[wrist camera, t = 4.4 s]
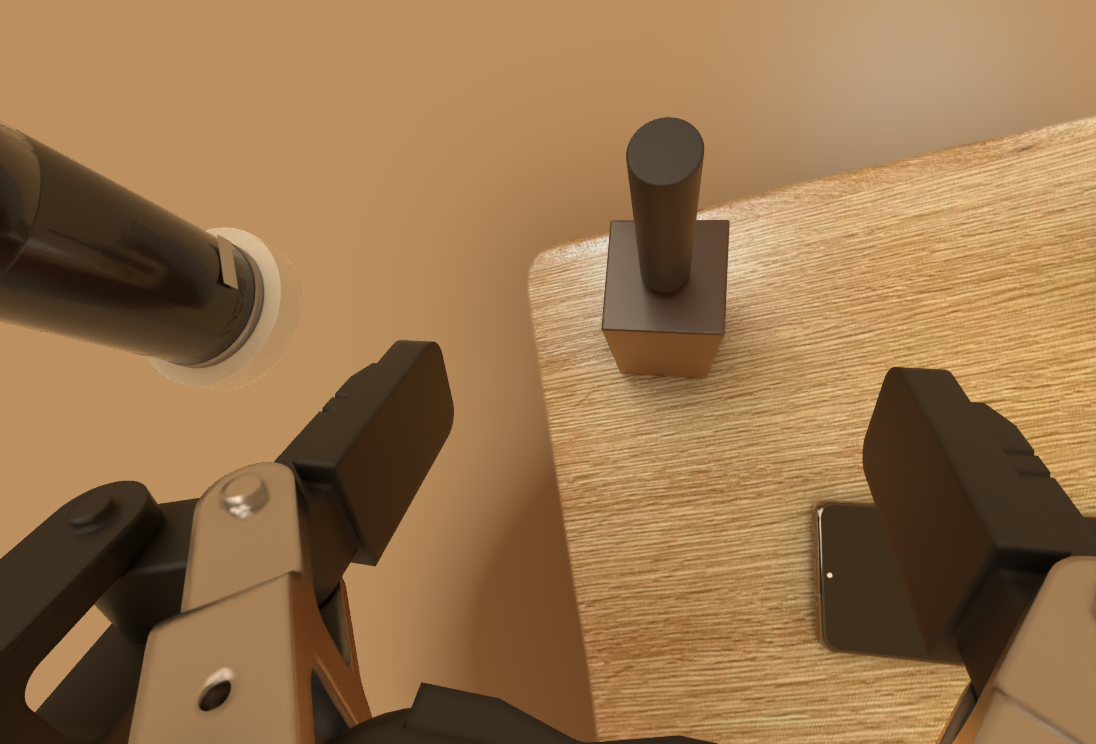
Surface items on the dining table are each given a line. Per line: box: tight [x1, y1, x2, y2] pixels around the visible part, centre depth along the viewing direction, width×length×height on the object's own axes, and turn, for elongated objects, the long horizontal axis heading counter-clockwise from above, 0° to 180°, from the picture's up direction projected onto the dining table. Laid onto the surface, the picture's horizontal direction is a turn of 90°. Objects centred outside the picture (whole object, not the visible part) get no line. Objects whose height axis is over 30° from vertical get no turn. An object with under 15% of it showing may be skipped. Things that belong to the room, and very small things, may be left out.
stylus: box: [626, 117, 704, 292], centre depth 18 cm, size 2×2×9 cm
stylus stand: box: [602, 220, 729, 378], centre depth 27 cm, size 5×5×10 cm
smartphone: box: [812, 501, 1096, 667], centre depth 26 cm, size 7×1×16 cm
